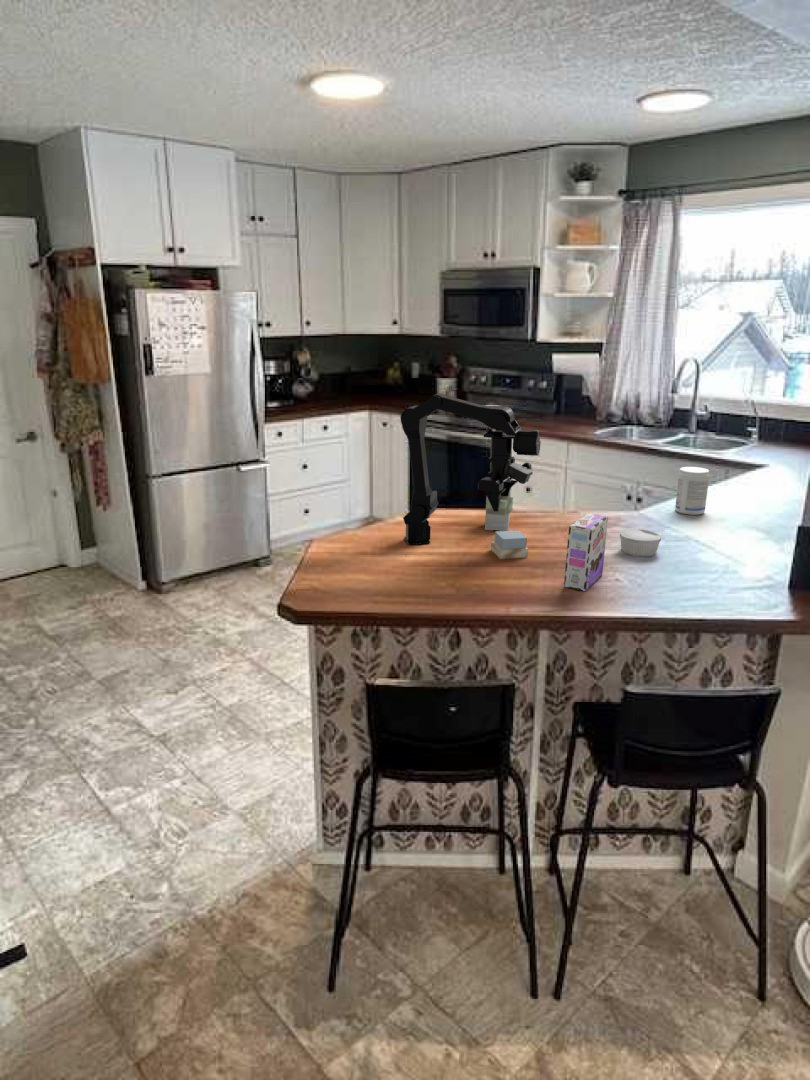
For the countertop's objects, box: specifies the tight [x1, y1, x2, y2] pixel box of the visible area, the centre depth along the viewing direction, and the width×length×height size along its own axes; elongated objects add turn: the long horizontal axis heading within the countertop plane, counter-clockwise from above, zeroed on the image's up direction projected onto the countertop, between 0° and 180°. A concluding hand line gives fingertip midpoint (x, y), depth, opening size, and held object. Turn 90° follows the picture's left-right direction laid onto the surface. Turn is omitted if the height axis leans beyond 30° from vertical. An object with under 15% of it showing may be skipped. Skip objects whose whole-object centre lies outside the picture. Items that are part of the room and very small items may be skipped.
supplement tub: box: [674, 466, 710, 516], centre depth 248 cm, size 10×10×15 cm
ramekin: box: [619, 528, 662, 558], centre depth 211 cm, size 11×11×5 cm
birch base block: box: [490, 540, 529, 560], centre depth 209 cm, size 8×8×3 cm
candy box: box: [563, 512, 609, 592], centre depth 187 cm, size 14×6×16 cm, turn 148°
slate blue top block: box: [494, 529, 528, 549], centre depth 208 cm, size 7×7×3 cm
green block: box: [487, 496, 514, 516], centre depth 206 cm, size 6×6×4 cm
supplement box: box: [484, 489, 512, 531], centre depth 230 cm, size 7×7×13 cm
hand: (499, 508), depth 207 cm, fingers closed on green block, 5 cm apart
